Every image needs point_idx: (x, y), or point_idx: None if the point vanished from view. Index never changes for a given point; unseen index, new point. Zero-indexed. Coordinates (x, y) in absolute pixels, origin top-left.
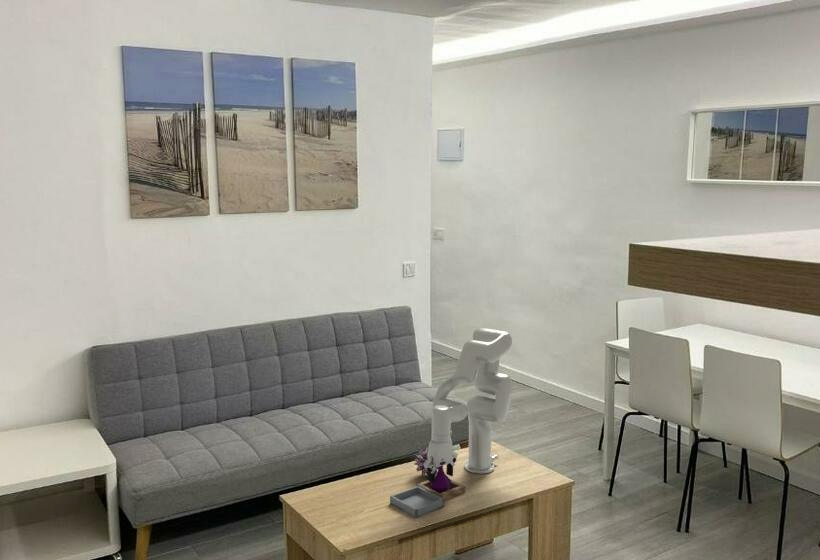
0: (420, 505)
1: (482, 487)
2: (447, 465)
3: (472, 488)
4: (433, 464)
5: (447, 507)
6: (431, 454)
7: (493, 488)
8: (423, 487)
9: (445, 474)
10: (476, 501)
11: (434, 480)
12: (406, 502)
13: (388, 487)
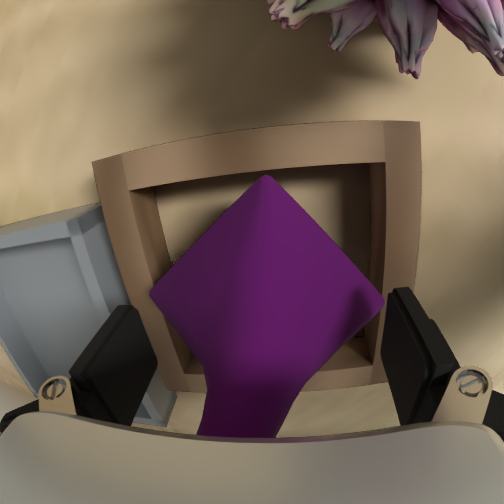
0: (71, 344)
1: (483, 345)
2: (423, 382)
3: (450, 334)
4: (409, 10)
5: (188, 407)
6: None
7: (494, 370)
8: (115, 244)
9: (315, 372)
10: (342, 428)
11: (145, 379)
12: (23, 282)
13: (19, 47)
